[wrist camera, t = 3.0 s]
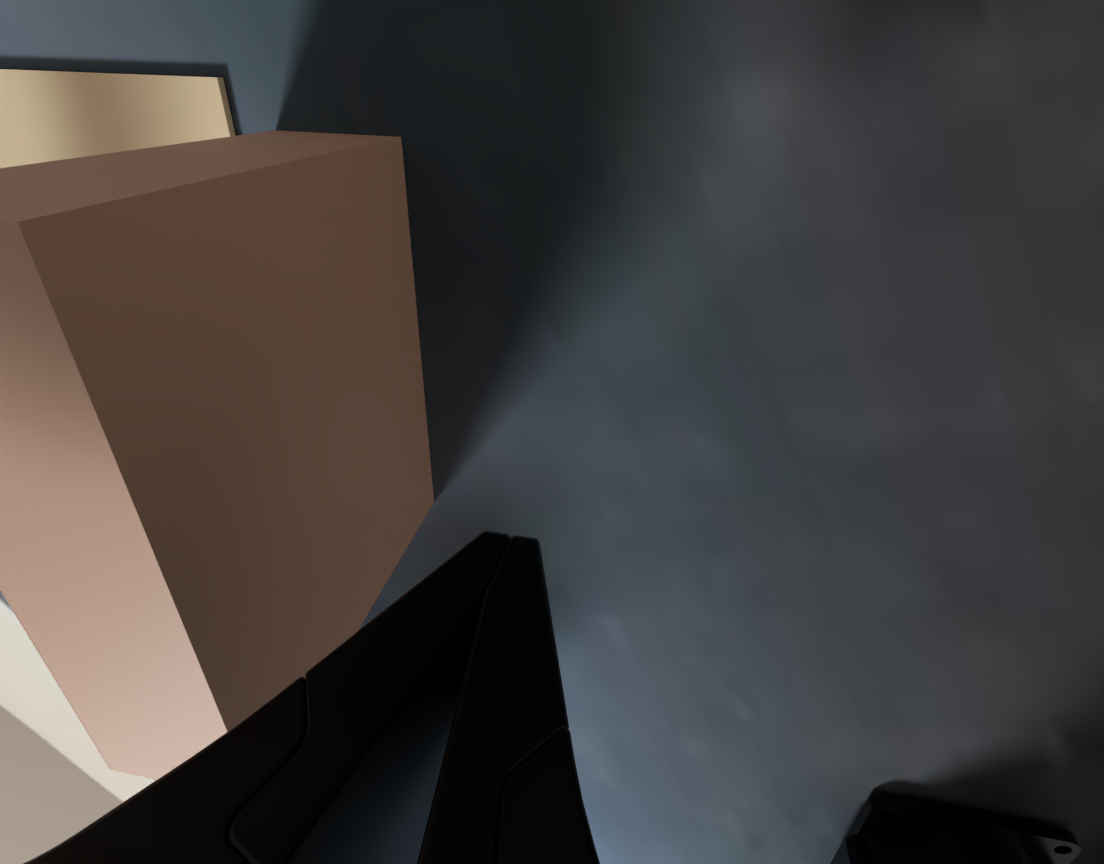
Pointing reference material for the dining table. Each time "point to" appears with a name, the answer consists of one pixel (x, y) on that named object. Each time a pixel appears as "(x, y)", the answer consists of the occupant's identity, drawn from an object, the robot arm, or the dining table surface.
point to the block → (205, 422)
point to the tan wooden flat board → (104, 113)
